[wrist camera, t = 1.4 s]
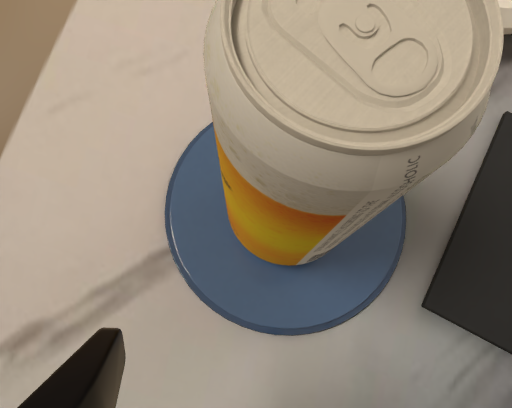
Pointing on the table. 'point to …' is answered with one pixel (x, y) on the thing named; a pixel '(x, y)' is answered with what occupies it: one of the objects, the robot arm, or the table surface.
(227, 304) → the plate
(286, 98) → the beer can
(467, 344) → the table surface
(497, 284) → the mat
